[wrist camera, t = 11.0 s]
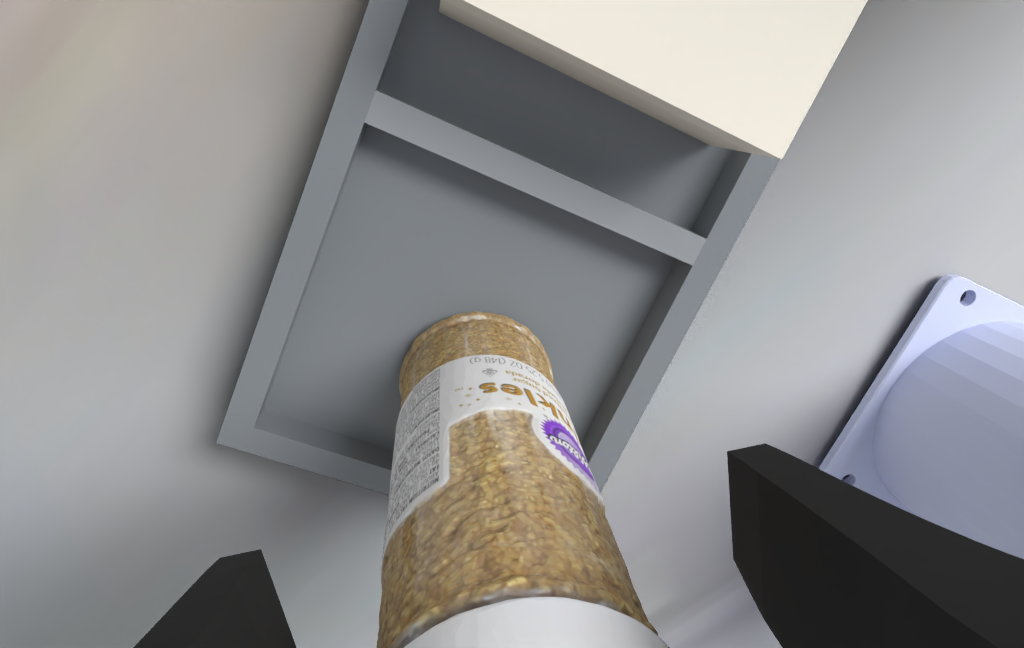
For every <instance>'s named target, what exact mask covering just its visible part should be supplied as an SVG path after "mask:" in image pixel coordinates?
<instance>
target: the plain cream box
mask: <svg viewBox="0 0 1024 648" xmlns="http://www.w3.org/2000/svg"><path fill="white" fill-rule="evenodd" d="M867 1H868V0H440V7H439V13H441V14H443V15H445V16H447V17H449V18H451V19H454V20H456V21H458V22H460V23H462V24H464V25H466V26H468V27H470V28H472V29H474V30H476V31H478V32H480V33H482V34H484V35H486V36H488V37H490V38H492V39H494V40H496V41H498V42H500V43H502V44H504V45H507V46H509V47H511V48H513V49H515V50H517V51H519V52H521V53H523V54H525V55H527V56H529V57H531V58H533V59H535V60H537V61H539V62H541V63H543V64H545V65H547V66H549V67H551V68H553V69H555V70H557V71H559V72H562V73H564V74H566V75H568V76H570V77H572V78H574V79H576V80H578V81H580V82H582V83H584V84H586V85H588V86H590V87H592V88H594V89H596V90H598V91H600V92H602V93H604V94H606V95H608V96H610V97H612V98H615V99H617V100H619V101H621V102H623V103H625V104H627V105H629V106H631V107H633V108H635V109H637V110H639V111H641V112H643V113H645V114H647V115H649V116H651V117H653V118H655V119H657V120H659V121H661V122H663V123H665V124H668V125H670V126H672V127H674V128H676V129H678V130H680V131H682V132H684V133H686V134H688V135H690V136H692V137H694V138H696V139H698V140H700V141H702V142H704V143H706V144H708V145H711V146H716V147H721V148H726V149H731V150H736V151H741V152H747V153H752V154H757V155H762V156H767V157H772V158H777V159H782V158H783V156H784V155H785V153H786V151H787V149H788V147H789V145H790V143H791V142H792V140H793V138H794V136H795V134H796V132H797V130H798V129H799V127H800V125H801V123H802V121H803V119H804V117H805V116H806V114H807V112H808V110H809V108H810V106H811V104H812V103H813V101H814V99H815V97H816V95H817V93H818V92H819V90H820V88H821V86H822V84H823V82H824V80H825V79H826V77H827V75H828V73H829V71H830V69H831V67H832V66H833V64H834V62H835V60H836V58H837V56H838V54H839V53H840V51H841V49H842V47H843V45H844V43H845V41H846V40H847V38H848V36H849V34H850V32H851V30H852V29H853V27H854V25H855V23H856V21H857V19H858V17H859V16H860V14H861V12H862V10H863V8H864V6H865V4H866V3H867Z"/></svg>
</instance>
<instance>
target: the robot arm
mask: <svg viewBox="0 0 1024 648" xmlns="http://www.w3.org/2000/svg"><path fill="white" fill-rule="evenodd" d="M965 291H966V296H965V298H964V299H963V300H962V301H960V298H961V295H962V294H963V293H964V292H965ZM727 455H728V473H729V490H730V507H731V525H732V542H733V559H734V561H735V563H736V565H737V567H738V569H739V571H740V573H741V575H742V577H743V579H744V581H745V583H746V585H747V587H748V589H749V591H750V593H751V595H752V597H753V599H754V601H755V603H756V605H757V607H758V609H759V611H760V612H761V614H762V616H763V618H764V620H765V621H766V623H767V624H768V626H769V628H770V629H771V631H772V632H773V634H774V635H775V637H776V638H777V640H778V641H779V643H780V644H781V646H782V647H783V648H1024V306H1022V305H1020V304H1018V303H1016V302H1013V301H1011V300H1009V299H1007V298H1005V297H1003V296H1001V295H999V294H997V293H995V292H993V291H991V290H989V289H987V288H985V287H983V286H981V285H979V284H977V283H974V282H972V281H970V280H968V279H966V278H964V277H961V276H958V275H955V274H949V275H945V276H943V277H942V278H940V279H939V280H938V282H937V283H936V284H935V286H934V287H933V289H932V290H931V292H930V294H929V295H928V297H927V298H926V300H925V301H924V303H923V305H922V306H921V308H920V309H919V311H918V312H917V314H916V316H915V317H914V319H913V320H912V322H911V323H910V325H909V327H908V328H907V330H906V331H905V333H904V334H903V336H902V338H901V339H900V341H899V342H898V344H897V345H896V347H895V349H894V350H893V352H892V353H891V355H890V356H889V358H888V360H887V361H886V363H885V364H884V366H883V367H882V369H881V371H880V372H879V374H878V375H877V377H876V378H875V380H874V382H873V383H872V385H871V386H870V388H869V390H868V391H867V393H866V394H865V396H864V397H863V399H862V401H861V402H860V404H859V405H858V407H857V408H856V410H855V412H854V413H853V415H852V416H851V418H850V419H849V421H848V423H847V424H846V426H845V427H844V429H843V430H842V432H841V434H840V435H839V437H838V438H837V440H836V441H835V443H834V445H833V446H832V448H831V449H830V451H829V452H828V454H827V456H826V457H825V459H824V460H823V462H822V463H821V465H820V467H819V469H818V468H816V467H814V466H812V465H810V464H808V463H806V462H804V461H802V460H800V459H798V458H796V457H794V456H792V455H790V454H787V453H785V452H783V451H781V450H779V449H777V448H774V447H772V446H770V445H767V444H761V445H756V446H751V447H747V448H742V449H737V450H732V451H728V452H727ZM848 474H849V475H848ZM846 475H848V477H847V478H846V479H845V480H843V481H842V478H843V477H844V476H846ZM134 648H296V645H295V643H294V640H293V637H292V634H291V631H290V629H289V626H288V623H287V620H286V618H285V615H284V612H283V609H282V607H281V604H280V601H279V598H278V595H277V593H276V590H275V587H274V584H273V582H272V579H271V576H270V573H269V571H268V568H267V565H266V562H265V559H264V557H263V554H262V551H261V549H260V550H256V551H251V552H246V553H241V554H237V555H232V556H227V557H222V558H219V559H218V560H217V561H216V562H215V563H214V564H213V565H212V566H211V567H210V568H209V569H208V570H207V571H206V572H205V573H204V574H203V575H202V576H201V577H200V578H199V579H198V580H197V581H196V582H195V583H194V584H193V585H192V586H191V587H190V588H189V589H188V591H187V592H186V593H185V594H184V595H183V596H182V597H181V598H180V599H179V600H178V601H177V602H176V603H175V604H174V605H173V606H172V608H171V609H170V610H169V611H168V612H167V613H166V614H165V615H164V616H163V617H162V618H161V619H160V620H159V621H158V623H157V624H156V625H155V626H154V627H153V628H152V629H151V630H150V631H149V632H148V633H147V634H146V635H145V636H144V637H143V638H142V639H141V640H140V641H139V643H138V644H137V645H136V646H135V647H134Z"/></svg>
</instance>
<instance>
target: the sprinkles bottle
mask: <svg viewBox="0 0 1024 648" xmlns="http://www.w3.org/2000/svg"><path fill="white" fill-rule="evenodd" d="M399 391H400V396H401V399H402V400H401V410H400V413H399V417H398V421H397V425H396V433H395V442H394V452H393V461H392V470H391V480H390V491H389V502H388V511H387V520H386V529H385V538H384V547H383V556H382V570H381V584H382V598H381V606H380V613H379V633H378V641H377V648H669V646H668V645H667V644H666V643H665V642H664V641H663V640H662V639H661V638H660V637H658V633H657V631H656V630H655V629H654V628H653V626H652V625H651V624H650V623H649V622H648V619H647V617H646V615H645V613H644V611H643V609H642V605H641V603H640V601H639V598H638V596H637V594H636V592H635V590H634V588H633V585H632V582H631V579H630V576H629V573H628V570H627V567H626V565H625V562H624V560H623V558H622V555H621V553H620V551H619V548H618V546H617V543H616V541H615V538H614V536H613V533H612V530H611V528H610V526H609V523H608V521H607V519H606V517H605V506H604V502H603V499H602V497H601V494H600V492H599V490H598V487H597V485H596V482H595V480H594V477H593V475H592V472H591V470H590V467H589V465H588V462H587V460H586V457H585V455H584V452H583V449H582V447H581V444H580V442H579V439H578V436H577V434H576V431H575V428H574V426H573V423H572V421H571V418H570V416H569V413H568V410H567V408H566V405H565V403H564V401H563V399H562V397H561V396H560V394H559V393H558V391H557V389H556V387H555V384H554V382H553V373H552V368H551V363H550V361H549V358H548V356H547V354H546V352H545V350H544V348H543V345H542V344H541V342H540V341H539V339H538V338H537V337H536V336H535V335H534V334H533V333H532V332H531V331H530V330H529V329H528V328H527V327H526V326H524V325H522V324H520V323H518V322H516V321H515V320H513V319H512V318H509V317H507V316H503V315H497V314H493V313H487V312H479V311H474V312H469V313H460V314H456V315H453V316H451V317H449V318H447V319H444V320H441V321H439V322H437V323H436V324H434V325H433V326H431V327H430V328H428V329H427V330H426V331H425V332H423V333H422V334H421V335H419V336H418V337H417V338H416V339H415V341H414V342H413V344H412V346H411V348H410V350H409V351H408V353H407V354H406V356H405V358H404V361H403V364H402V367H401V370H400V376H399Z"/></svg>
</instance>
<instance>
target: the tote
mask: <svg viewBox="0 0 1024 648" xmlns="http://www.w3.org/2000/svg"><path fill="white" fill-rule="evenodd" d="M439 7H440V0H369V3H368V6H367V9H366V12H365V15H364V17H363V20H362V23H361V26H360V29H359V32H358V35H357V38H356V41H355V43H354V46H353V49H352V52H351V55H350V58H349V61H348V64H347V67H346V69H345V72H344V75H343V78H342V81H341V84H340V87H339V90H338V92H337V95H336V98H335V101H334V104H333V107H332V110H331V113H330V116H329V118H328V121H327V124H326V127H325V130H324V133H323V136H322V139H321V141H320V144H319V147H318V150H317V153H316V156H315V159H314V162H313V165H312V167H311V170H310V173H309V176H308V179H307V182H306V185H305V188H304V191H303V193H302V196H301V199H300V202H299V205H298V208H297V211H296V214H295V216H294V219H293V222H292V225H291V228H290V231H289V234H288V237H287V240H286V242H285V245H284V248H283V251H282V254H281V257H280V260H279V263H278V265H277V268H276V271H275V274H274V277H273V280H272V283H271V286H270V289H269V291H268V294H267V297H266V300H265V303H264V306H263V309H262V312H261V315H260V317H259V320H258V323H257V326H256V329H255V332H254V335H253V338H252V340H251V343H250V346H249V349H248V352H247V355H246V358H245V361H244V364H243V366H242V369H241V372H240V375H239V378H238V381H237V384H236V387H235V390H234V392H233V395H232V398H231V401H230V404H229V407H228V410H227V413H226V415H225V418H224V421H223V424H222V427H221V430H220V433H219V436H218V439H217V441H216V443H218V444H221V445H224V446H228V447H231V448H234V449H237V450H241V451H244V452H247V453H251V454H254V455H257V456H261V457H264V458H267V459H271V460H274V461H277V462H281V463H284V464H287V465H291V466H294V467H297V468H301V469H304V470H307V471H311V472H314V473H317V474H320V475H324V476H327V477H330V478H334V479H337V480H340V481H344V482H347V483H350V484H354V485H357V486H360V487H364V488H367V489H370V490H374V491H377V492H380V493H384V494H387V495H389V491H390V480H391V470H392V461H393V452H394V442H395V433H396V425H397V421H398V417H399V413H400V410H401V400H402V399H401V396H400V391H399V376H400V370H401V367H402V364H403V361H404V358H405V356H406V354H407V353H408V351H409V350H410V348H411V346H412V344H413V342H414V341H415V339H416V338H417V337H418V336H419V335H421V334H422V333H423V332H425V331H426V330H427V329H428V328H430V327H431V326H433V325H434V324H436V323H437V322H439V321H441V320H444V319H447V318H449V317H451V316H453V315H456V314H460V313H469V312H474V311H479V312H487V313H493V314H497V315H503V316H507V317H509V318H512V319H513V320H515V321H516V322H518V323H520V324H522V325H524V326H526V327H527V328H528V329H529V330H530V331H531V332H532V333H533V334H534V335H535V336H536V337H537V338H538V339H539V341H540V342H541V344H542V345H543V348H544V350H545V352H546V354H547V356H548V358H549V361H550V363H551V368H552V373H553V382H554V384H555V387H556V389H557V391H558V393H559V394H560V396H561V397H562V399H563V401H564V403H565V405H566V408H567V410H568V413H569V416H570V418H571V421H572V423H573V426H574V428H575V431H576V434H577V436H578V439H579V442H580V444H581V447H582V449H583V452H584V455H585V457H586V460H587V462H588V465H589V467H590V470H591V472H592V475H593V477H594V480H595V482H596V485H597V487H598V490H599V492H601V491H602V489H603V487H604V485H605V483H606V481H607V479H608V478H609V476H610V474H611V472H612V470H613V468H614V466H615V465H616V463H617V461H618V459H619V457H620V455H621V453H622V452H623V450H624V448H625V446H626V444H627V442H628V440H629V439H630V437H631V435H632V433H633V431H634V429H635V428H636V426H637V424H638V422H639V420H640V418H641V416H642V415H643V413H644V411H645V409H646V407H647V405H648V403H649V402H650V400H651V398H652V396H653V394H654V392H655V390H656V389H657V387H658V385H659V383H660V381H661V379H662V377H663V376H664V374H665V372H666V370H667V368H668V366H669V364H670V363H671V361H672V359H673V357H674V355H675V353H676V351H677V350H678V348H679V346H680V344H681V342H682V340H683V338H684V337H685V335H686V333H687V331H688V329H689V327H690V325H691V324H692V322H693V320H694V318H695V316H696V314H697V312H698V311H699V309H700V307H701V305H702V303H703V301H704V299H705V298H706V296H707V294H708V292H709V290H710V288H711V286H712V285H713V283H714V281H715V279H716V277H717V275H718V273H719V272H720V270H721V268H722V266H723V264H724V262H725V260H726V259H727V257H728V255H729V253H730V251H731V249H732V247H733V246H734V244H735V242H736V240H737V238H738V236H739V234H740V233H741V231H742V229H743V227H744V225H745V223H746V221H747V220H748V218H749V216H750V214H751V212H752V210H753V209H754V207H755V205H756V203H757V201H758V199H759V197H760V196H761V194H762V192H763V190H764V188H765V186H766V184H767V183H768V181H769V179H770V177H771V175H772V173H773V171H774V170H775V168H776V166H777V164H778V162H779V160H780V159H777V158H772V157H767V156H762V155H757V154H752V153H747V152H741V151H736V150H731V149H726V148H721V147H716V146H711V145H708V144H706V143H704V142H702V141H700V140H698V139H696V138H694V137H692V136H690V135H688V134H686V133H684V132H682V131H680V130H678V129H676V128H674V127H672V126H670V125H668V124H665V123H663V122H661V121H659V120H657V119H655V118H653V117H651V116H649V115H647V114H645V113H643V112H641V111H639V110H637V109H635V108H633V107H631V106H629V105H627V104H625V103H623V102H621V101H619V100H617V99H615V98H612V97H610V96H608V95H606V94H604V93H602V92H600V91H598V90H596V89H594V88H592V87H590V86H588V85H586V84H584V83H582V82H580V81H578V80H576V79H574V78H572V77H570V76H568V75H566V74H564V73H562V72H559V71H557V70H555V69H553V68H551V67H549V66H547V65H545V64H543V63H541V62H539V61H537V60H535V59H533V58H531V57H529V56H527V55H525V54H523V53H521V52H519V51H517V50H515V49H513V48H511V47H509V46H507V45H504V44H502V43H500V42H498V41H496V40H494V39H492V38H490V37H488V36H486V35H484V34H482V33H480V32H478V31H476V30H474V29H472V28H470V27H468V26H466V25H464V24H462V23H460V22H458V21H456V20H454V19H451V18H449V17H447V16H445V15H443V14H441V13H439Z"/></svg>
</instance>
